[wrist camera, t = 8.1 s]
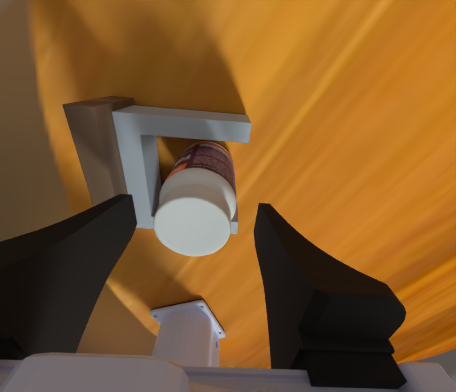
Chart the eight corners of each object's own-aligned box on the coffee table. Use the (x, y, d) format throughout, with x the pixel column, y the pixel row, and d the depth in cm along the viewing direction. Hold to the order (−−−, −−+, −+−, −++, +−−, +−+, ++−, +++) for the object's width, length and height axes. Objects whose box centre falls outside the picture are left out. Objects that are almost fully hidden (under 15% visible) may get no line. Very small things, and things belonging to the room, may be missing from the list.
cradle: (247, 114, 15) (251, 123, 13) (235, 212, 20) (236, 234, 17) (133, 105, 15) (111, 111, 12) (147, 206, 20) (134, 227, 17)
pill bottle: (187, 131, 16) (153, 175, 9) (242, 151, 17) (253, 207, 10) (173, 181, 18) (137, 249, 11) (222, 197, 19) (219, 270, 12)
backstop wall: (132, 98, 15) (93, 106, 11) (147, 201, 19) (124, 237, 15) (110, 96, 15) (62, 104, 11) (130, 200, 19) (102, 236, 15)
